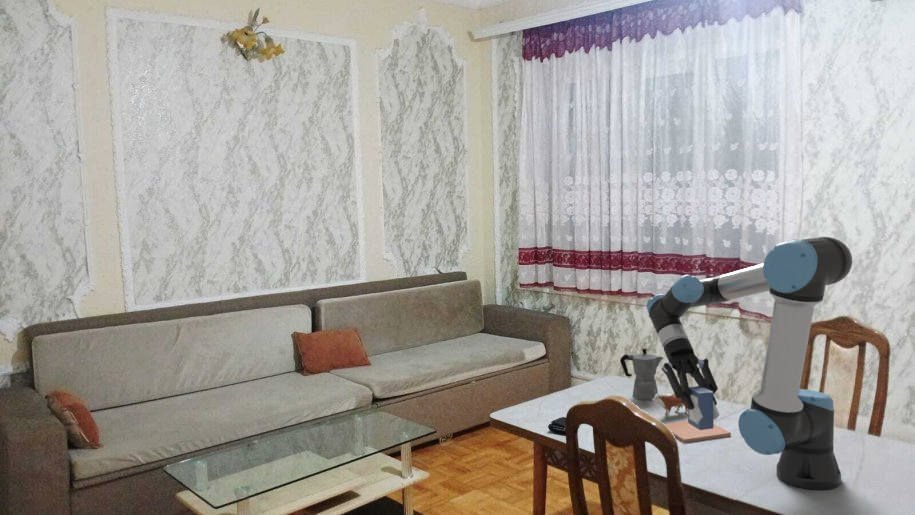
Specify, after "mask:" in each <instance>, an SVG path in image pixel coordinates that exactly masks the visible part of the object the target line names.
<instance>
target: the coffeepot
mask: <svg viewBox="0 0 915 515" xmlns="http://www.w3.org/2000/svg"><path fill="white" fill-rule="evenodd" d="M641 351H642V352H641V353H636V354H624V355H622V357H620V360H619V361H620V362H619V363H620V364H621V367H622V370H623V372H624V375H625V376H626V377H629V378H630V377H632V375H633V374H632V373H629V370H628V366H627V362H626V360H627V361H631V362H632V366H633V371H634V372H633V373H634V374H635V379H634V384H633V392H632V396H633V397H634V398H635V399H638V400H642V401H644V400H645V401H650V400H651V401H652V399H653V398H654V397H655V395H656V394H657V393H659V391H658V385H657V381H656V378H655V377H656V374H657V368H658V367H659V365H660V363H661V361H662V360H664V357H663V356H661V355H656V354H652V353H647V351H648V349H647V348H642V350H641Z"/></svg>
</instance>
